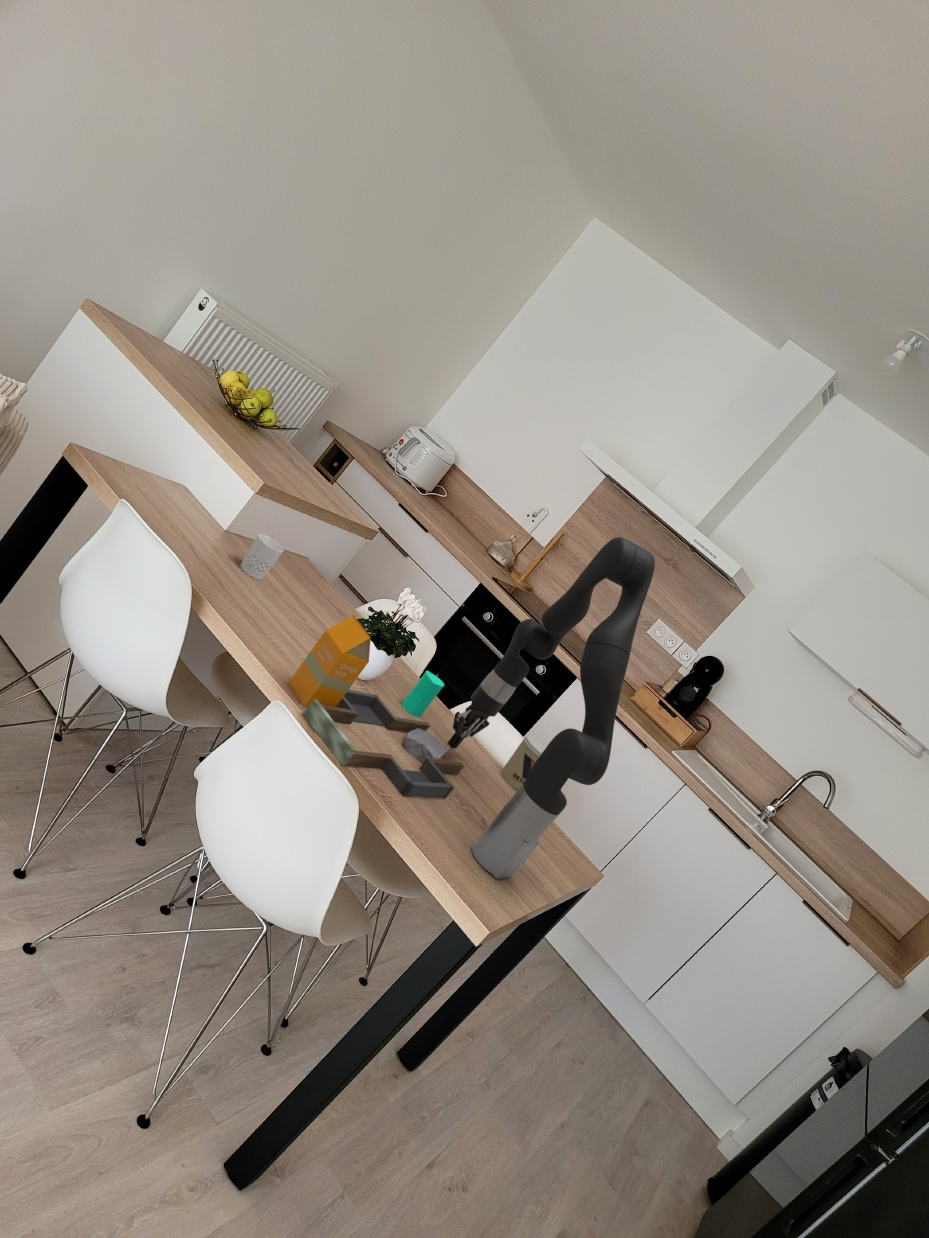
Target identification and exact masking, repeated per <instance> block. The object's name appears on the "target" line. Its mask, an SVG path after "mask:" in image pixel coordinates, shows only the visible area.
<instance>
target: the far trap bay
mask: <svg viewBox="0 0 929 1238" xmlns="http://www.w3.org/2000/svg"><path fill="white" fill-rule="evenodd" d="M336 707H338V708H344V709H350V710H355V711H356V712H357V713H358V715H357V716H356V718H355V719H354V720H353V722H354V723H361V724H368V725H374V726H380V727H385V725H386V724H387V723H388V721H389V720H390V719H391V717H396V716H395V715H394V713H393V712H392V711H391V710H390V709H389V708H388V707H387V705H385V703H384V702H383V701H382V699H381V698H380V696H378V695H377V694H372V693H368V692H363V691H358V690H353V689H349V690H348V691H347V693H346V694H345V695H344V696H343V698H342V699H341V700H340V702H339V703H338V704H337V706H336ZM353 722H352V723H353Z"/></svg>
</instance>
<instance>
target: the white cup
mask: <svg viewBox="0 0 929 1238" xmlns="http://www.w3.org/2000/svg"><path fill="white" fill-rule="evenodd" d="M283 553H284V548H283V547H282V546H281V545H280V543H278V542H277V541H276V540H274V539H273V538H271V537H269V536H267V535H265V534H260V533H258V534H257V535H256V537H255V539H254V541H253V542H252V544H251V545H250V548H248V550H247V553H246V554H245V557H244V559H243V560H242V562H241V563H240V565H239V566H240V569H241V571H243V573H245V574H246V575H248V576H249V577H251V578H252V579H254V580H255V579H256V580H260V581H261V580H262V579H263V578H265V576H266V575H267V573H268V572H269V571H270V570H271V568H272V567H273V566H274V565H275V563H276V562H277V561H278V559H279V558H280V557H281V555H282V554H283Z"/></svg>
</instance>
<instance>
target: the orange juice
mask: <svg viewBox="0 0 929 1238" xmlns="http://www.w3.org/2000/svg"><path fill="white" fill-rule="evenodd" d="M371 639H372V637H371V636H370V635H369V633H368V632H367V631H366V629H365V627H364V626H363V625H361V623H360V621H359V620H358V619H357V617H356V616H355V615H354V614H353V615H351V616H349V617H348V618H345V619H344V620H342V621H340V622H338V623H336V624H334V625H333V626H331V627H329V628H327V629H325V631H324V632H323V633H322V635H321V636H320V637H319V638H318V641H316V643H315V645H314V646H313V647H312V649H311V650H310V651H309V653H308V654H307V655H306V656H305V658H304V660H303V662H302V663H301V664H300V665H299V667H298V668H297V670H296V671H295V673H294V674H293V675H292V677H291V679H290V680H289V682H288V683H289V684H290V686H291V687H292V689H293V690H294V692H295V693H296V695H297V697H298V699H299V700H300V702H301V703H302V705H303V707H305V708H307V707H308V706H309V704H310V703H311V702H312V700H313V699H316V700H318V701H319V703H320V704H321V705H326V706H332V707H336V706H337V704H338V703H339V702H340V700H341V699H342V698H343V696H344V695H345V694H346V693H347V691H348V690H351V689H350V688H351V687H352V685H354V683H355V681H356V680H357V679H358V677H359V676H360V674H361V673H362V672H363V670H364V669H365V667H367V665H368V664H369V662H370V652H371V651H370V650H371Z"/></svg>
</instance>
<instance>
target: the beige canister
mask: <svg viewBox="0 0 929 1238" xmlns="http://www.w3.org/2000/svg"><path fill="white" fill-rule="evenodd" d="M547 746H548V745H546V744H545V743H544V742H543V741H541V740H540V739H539V738H537V737H535V736H533V735H530V734H528V735H526V736H524V737H523V739H522V741H521V742H520V744H519V745H518V746H517V748H516V749H515V751H514V752H513V753H512V755H511V756H510V758H509V760H508V761H507V762H506V764H505V765H504V766H503V768H502V769H501V772H500V773H501V776H502V778H503V779H504V780H505V781H506V782H507V784H508V785H510V786H511V787H512V788H514V789H516V791H518V790H519V788H520V787H521V786H522V785H523V784H524V782H525V781H526V780H527V778H528V776H529V773H530V770H531V768H532V766H533V765H534V763H535V762H536V761H537V759H538V758H539V757H540V755H541V754H542V752H543V751H544V750H545V748H546V747H547Z"/></svg>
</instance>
